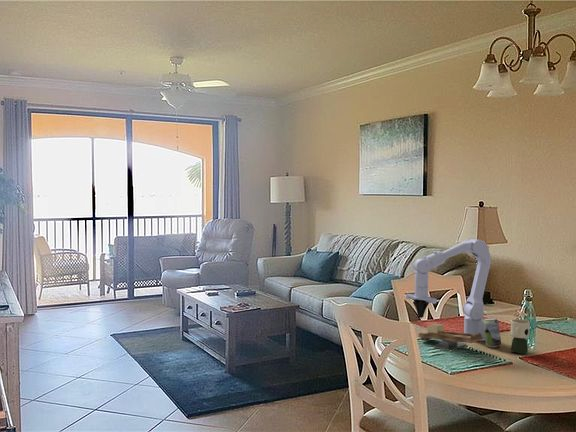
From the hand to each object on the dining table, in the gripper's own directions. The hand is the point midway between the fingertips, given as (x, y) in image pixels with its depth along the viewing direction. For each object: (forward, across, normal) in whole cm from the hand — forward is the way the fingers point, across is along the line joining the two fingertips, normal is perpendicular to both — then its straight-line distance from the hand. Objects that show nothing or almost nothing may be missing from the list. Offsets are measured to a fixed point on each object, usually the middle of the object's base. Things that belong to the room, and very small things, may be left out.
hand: (420, 317), depth 245 cm
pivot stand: (+10, +14, 0) cm, 17 cm away
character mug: (+10, +38, +14) cm, 42 cm away
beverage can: (+10, +26, +14) cm, 31 cm away
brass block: (+6, +8, 0) cm, 10 cm away
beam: (+8, +15, 0) cm, 17 cm away
